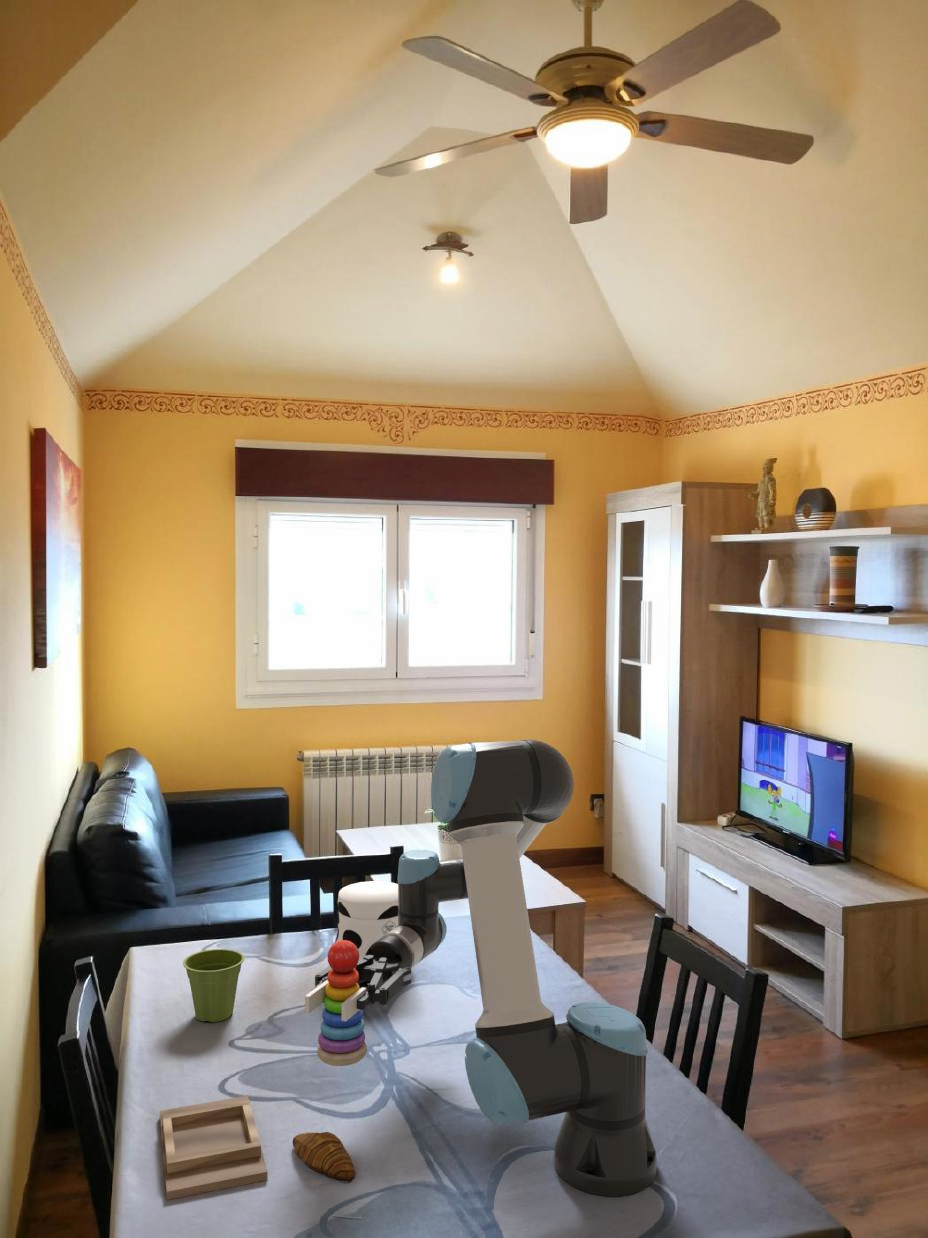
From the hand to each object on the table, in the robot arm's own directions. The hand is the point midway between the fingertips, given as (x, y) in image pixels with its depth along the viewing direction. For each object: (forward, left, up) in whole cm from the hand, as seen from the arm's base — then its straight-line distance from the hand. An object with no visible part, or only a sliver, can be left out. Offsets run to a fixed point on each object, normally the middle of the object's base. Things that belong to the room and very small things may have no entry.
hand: (325, 1008), depth 154 cm
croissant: (-7, +2, -21) cm, 22 cm away
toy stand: (+3, +17, -20) cm, 27 cm away
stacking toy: (+4, -3, -10) cm, 11 cm away
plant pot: (+49, +12, -20) cm, 54 cm away
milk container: (+59, -23, -20) cm, 66 cm away
